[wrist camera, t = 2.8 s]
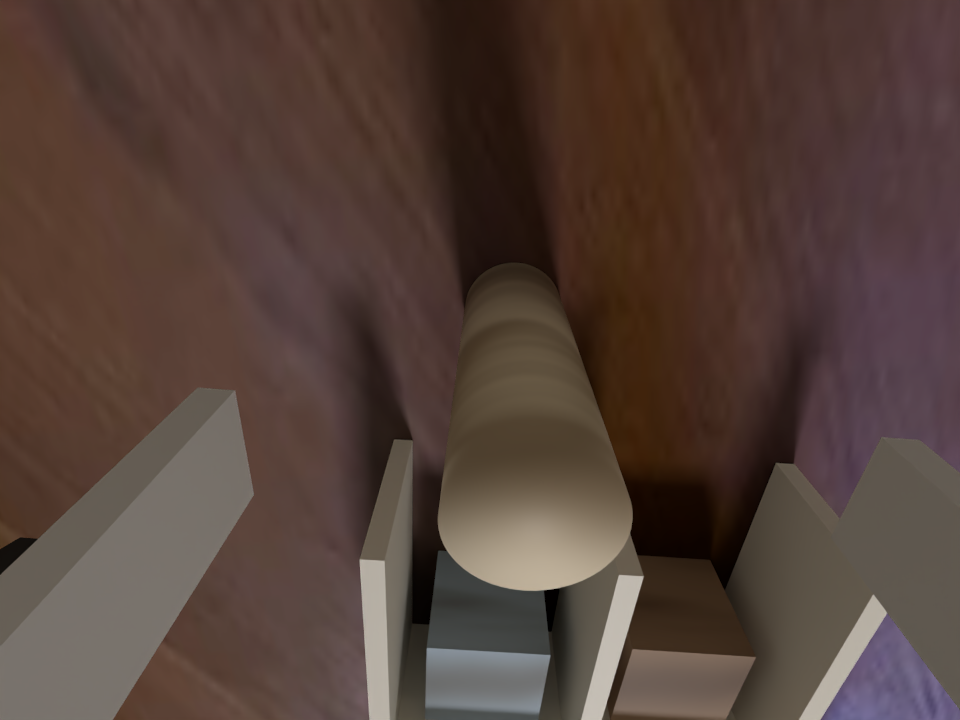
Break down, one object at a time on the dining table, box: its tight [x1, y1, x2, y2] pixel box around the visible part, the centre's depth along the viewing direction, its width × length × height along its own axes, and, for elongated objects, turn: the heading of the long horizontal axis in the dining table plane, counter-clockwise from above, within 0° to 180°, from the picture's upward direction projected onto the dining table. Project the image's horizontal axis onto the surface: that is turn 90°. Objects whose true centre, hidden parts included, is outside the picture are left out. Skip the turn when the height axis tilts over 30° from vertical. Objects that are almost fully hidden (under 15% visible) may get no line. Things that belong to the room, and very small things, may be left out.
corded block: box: [425, 263, 633, 720], centre depth 18 cm, size 20×5×11 cm, turn 176°
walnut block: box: [607, 555, 756, 720], centre depth 24 cm, size 5×5×5 cm
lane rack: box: [360, 439, 887, 720], centre depth 22 cm, size 13×17×6 cm
